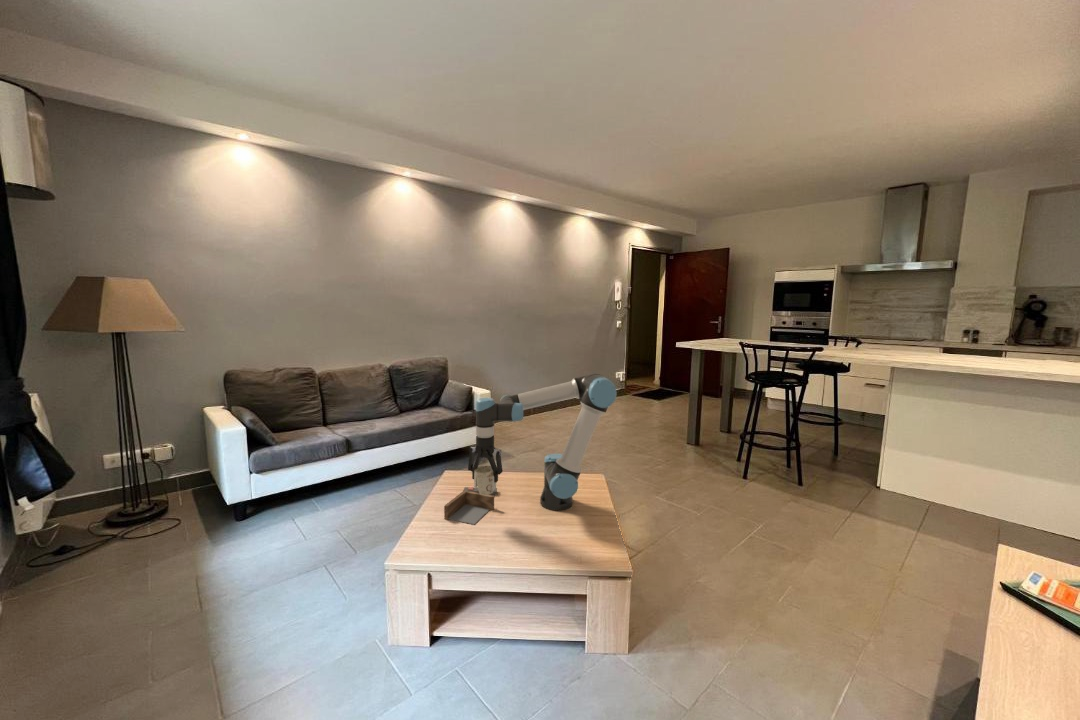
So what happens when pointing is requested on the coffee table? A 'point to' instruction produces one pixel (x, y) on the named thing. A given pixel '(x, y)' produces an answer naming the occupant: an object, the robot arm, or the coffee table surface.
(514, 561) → the coffee table surface
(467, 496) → the brown corner wall
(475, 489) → the remote
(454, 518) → the mat
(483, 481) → the mug
